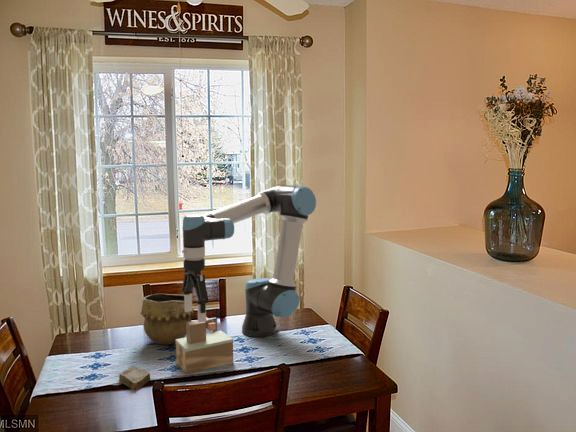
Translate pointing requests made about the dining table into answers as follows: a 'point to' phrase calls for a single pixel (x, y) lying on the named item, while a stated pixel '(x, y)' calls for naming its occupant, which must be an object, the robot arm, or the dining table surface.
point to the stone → (134, 378)
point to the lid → (201, 337)
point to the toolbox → (204, 357)
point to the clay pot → (165, 317)
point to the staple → (213, 321)
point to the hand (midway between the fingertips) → (195, 316)
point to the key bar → (210, 325)
